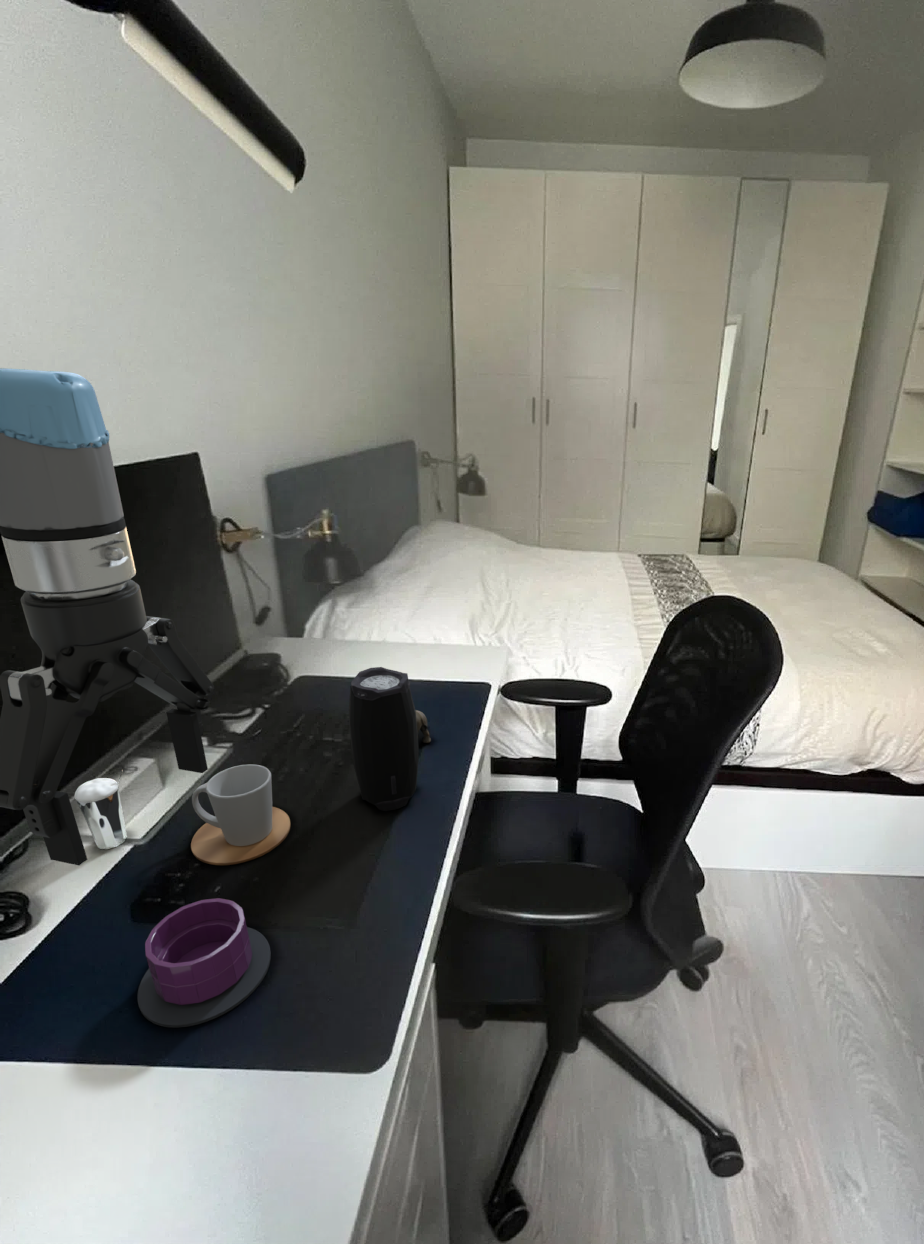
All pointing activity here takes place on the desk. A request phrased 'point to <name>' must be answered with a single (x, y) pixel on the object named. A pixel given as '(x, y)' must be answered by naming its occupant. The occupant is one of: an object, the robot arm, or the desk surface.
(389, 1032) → the desk surface
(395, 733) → the portable speaker
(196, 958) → the plum bowl
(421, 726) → the rhino figurine
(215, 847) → the wooden coaster
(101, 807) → the milkshake
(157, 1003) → the slate coaster
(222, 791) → the cup
